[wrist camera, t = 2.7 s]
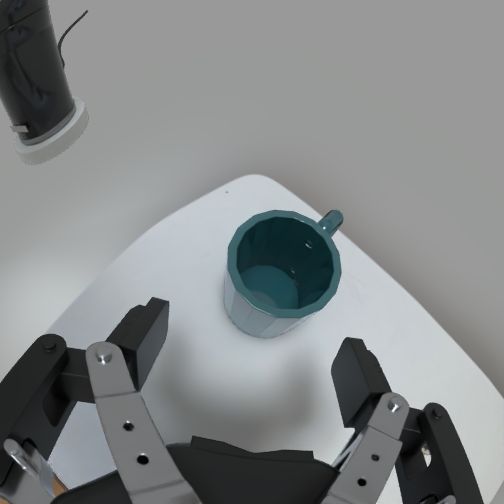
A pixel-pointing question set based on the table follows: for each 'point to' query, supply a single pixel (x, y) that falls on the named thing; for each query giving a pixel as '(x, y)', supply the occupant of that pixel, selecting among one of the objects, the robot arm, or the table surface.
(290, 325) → the mug
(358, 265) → the table surface
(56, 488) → the cork mat
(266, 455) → the robot arm
